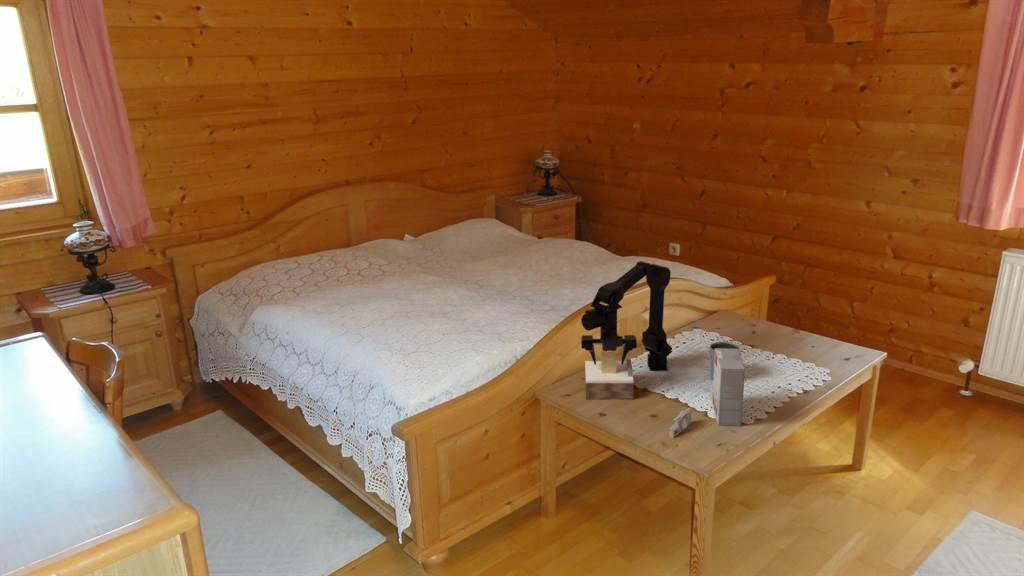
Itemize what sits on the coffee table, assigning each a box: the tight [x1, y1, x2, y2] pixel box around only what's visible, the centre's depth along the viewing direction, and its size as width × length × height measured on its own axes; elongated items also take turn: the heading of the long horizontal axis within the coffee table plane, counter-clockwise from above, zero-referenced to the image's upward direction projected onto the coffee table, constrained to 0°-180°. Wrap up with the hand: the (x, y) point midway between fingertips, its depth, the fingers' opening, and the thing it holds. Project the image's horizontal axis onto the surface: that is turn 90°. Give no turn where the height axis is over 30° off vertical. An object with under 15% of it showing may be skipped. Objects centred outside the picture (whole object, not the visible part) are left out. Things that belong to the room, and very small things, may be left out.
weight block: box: [600, 351, 617, 374], centre depth 247 cm, size 5×5×6 cm
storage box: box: [584, 374, 634, 401], centre depth 249 cm, size 16×16×6 cm
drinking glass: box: [709, 341, 740, 381], centre depth 253 cm, size 10×10×12 cm
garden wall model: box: [668, 407, 693, 438], centre depth 221 cm, size 12×2×6 cm, turn 139°
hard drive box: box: [712, 348, 746, 427], centre depth 227 cm, size 16×8×20 cm, turn 171°
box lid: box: [584, 358, 634, 384], centre depth 248 cm, size 16×16×3 cm
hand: (608, 364), depth 247 cm, fingers open, 9 cm apart
